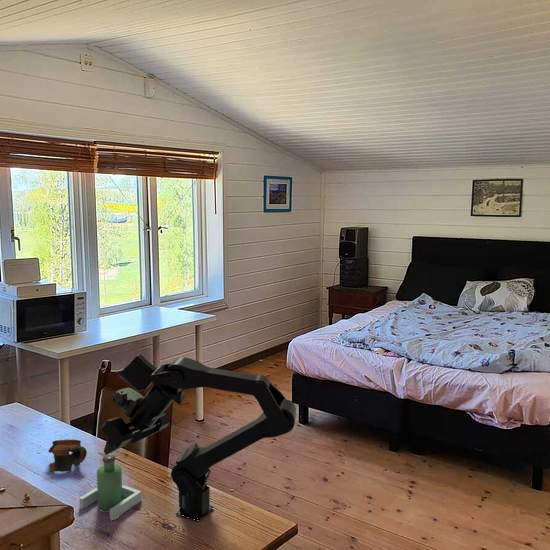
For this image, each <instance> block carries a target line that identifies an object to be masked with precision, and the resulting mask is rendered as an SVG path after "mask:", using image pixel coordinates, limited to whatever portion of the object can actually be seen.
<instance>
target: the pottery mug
mask: <svg viewBox="0 0 550 550" xmlns="http://www.w3.org/2000/svg"><path fill="white" fill-rule="evenodd" d="M81 443H82V441H81V440H79V439H58V440H53V441H52V445H51V446H50V448H49V449H48V453H50V454H52V455H53V459H54V461H53V462H49V471H50V473H51V472H60V473H61V472H63V473H65V472H67V473H68V472H72V468H73V466H75V467H79V466H80V465H81V463H83V462H84V460H86V457H87V455H88V452H87V449H86V447H84V446H82V445H81Z"/></svg>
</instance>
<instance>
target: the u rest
mask: <svg viewBox="0 0 550 550" xmlns="http://www.w3.org/2000/svg"><path fill="white" fill-rule="evenodd" d="M122 498H124V499H122V502H120V503H119V504H117V505H116V506H114V507H113V508H111V509H110V512H109V520H110V519H112V520H114V519H115V518H117V517H118V516H120V515H121V514H122V515H124V514H125V513H126V512H125V511H127V510H128V509H129V510H131V509H132V508H133V507H132V506H134V505H135V504H136V503H138V502H139V503H141V502H142V501H143V500H142V491H141V490H139V489H135V488H133V487H130V486H127V485H125V484H122ZM141 500H142V501H141ZM96 501H98V492H97V487H95V488H94V489H92V490H89V492H87V493H86V494H84V495H82V496H81V497H79V509H81V508H82V509H81V510H83V508H84V509H85V508H87V507H88V505H89V506H91V504H94V503H95V502H96ZM140 501H141V502H140ZM139 503H138V504H139ZM135 506H136V505H135ZM135 506H134V507H135ZM131 507H132V508H131ZM130 508H131V509H130ZM129 510H128V511H129ZM128 511H127V512H128ZM124 512H125V513H124ZM123 513H124V514H123ZM122 515H121V516H122ZM121 516H120V517H121ZM118 518H119V517H118ZM118 518H117V519H118ZM112 520H111V521H112ZM115 520H116V519H115ZM115 520H114V521H115Z"/></svg>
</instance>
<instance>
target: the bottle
mask: <svg viewBox="0 0 550 550" xmlns="http://www.w3.org/2000/svg"><path fill="white" fill-rule="evenodd" d="M115 461H116V455H115V454H107V455H106V454H105V455H104V456H102V462H103V465H102V466H100V467H99V468H97V469H96V482H97V483H96V488H97V492H98V500H97V509H98V508H99V509H100V510H102V511H110V509H111V508H113V507H114V506H116V505H117V504H119V503H120V502H122V501H123V497H122V485H123V473H122V472H123V471H122V469H123V467H121V465H119V464H116V463H115ZM99 509H98V510H99ZM100 510H99V511H100ZM102 511H101V512H102Z"/></svg>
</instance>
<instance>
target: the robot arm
mask: <svg viewBox="0 0 550 550" xmlns="http://www.w3.org/2000/svg"><path fill="white" fill-rule="evenodd" d="M118 376H119V378H121V379H122V380H123V381H124V382H125V383H127V384H128V385H129V386H130V387H125V388H121V389H118V390H117V391H115V393H114V394H113V395H112V396H111V403H112V404H113V405H115V406H116V407H118V408H121V409H123V410H125V412H124V415H125V416H126V417H127V418H129V422H128V423H126V422H125V421H124V420H123V418H122V417H121V416H119V417H118V416H115V417H112V418H110V419H106V421H104V423H103V424H102V425H101V430H102V431H103V432H104V433H105V435H106V437H107V439H106V442H105V444H104V445H105V446H104V448H103V449H104V450H103V453H104V454H105V456H106V455H110V454H112V453H113V452H116V451H117V450H119V449H121V448H123V447H124V446H127V445H128V443H131V444H136V443H137V442H139V441H141V440H143V439H146V438H149V436H152V435H154V434H156V433H158V432H161V431H162V430H163V429H166V428H167V427H168V426H169V424H170V423H171V419H170V416H169V415H168V414H167V412H166V410H167V408H169V406H170V405H171V404H172V402H175V403H176V404H178V405H181V404H182V403H183V402H184V400H185V399H186V398H187V397H186V393H185V390H193V389H194V390H195V389H198V388H207V389H212V390H218V391H223V392H224V391H225V392H229V393H235V394H236V393H237V394H242V395H249V396H253V397H254V398H255V399H256V401H257V403H258V405H259V407H260V408H261V410H262V413H261V414H260V415H259V416H258V417H257V418H256V419H254V420H253V421H251V422H249V423H247V424H245V425H244V426H241V427H239V428H238V429H236V430H235V431H233V432H231V433H228V434H227V435H225V436H224V437H222V438H219V439H218V440H216V441H215V442H213V443H211V444H209V445H207V446H204V447H199V445H198V443H197V442H195V443H194V444H192V445H191V446H190V447H187V448H183V449H182V451H181V452H180V454H179V456H178V457H177V459H176V461H175V463H174V465H173V467H172V469H171V471H170V478H171V480H172V482H173V483H174V484H175V485H176V487H177V490H178V507H179V508H178V509H177V510H176V511H175V514H176V513H177V514H180V515H184V516H186V517H189V518H192V519H195V520H199V519H200V518H202V517H203V516H204V515H205V514H206V513H208V512H209V511H210V510H211V509H212V508H213V509H214V505H212V504H210V503H211V502H210V501H211V500H210V497H211V496H210V494H211V492H210V490H211V489H210V488H211V487H210V486H208V484H207V482H208V480H209V478H210V475H211V472H212V471H211V469H210V468H211V467H213V466H215V465H216V464H218V463H220V462H222V461H224V460H226V459H228V458H230V457H231V456H233V455H235V454H237V453H238V452H240V451H242V450H245V449H246V448H248V447H249V446H251V445H253V444H255V443H257V442H258V441H261V440H263V439H271V438H272V439H273V438H277V437H280V436H283V435H287V434H289V433H291V431H292V430H293V429H294V427H295V423H296V419H297V418H296V417H297V407H296V405H295V403H294V402H293V401H292V400H289V399H287V397H285V396H284V394H283V393H282V392H281V391H280V390H279V389H278V388H277V387H276V386H275V385H274V384H273V383H272V382H271V380H270V379H269V378H268V377H267V376H265V375H262V374H257V375H256V374H251V373H245V372H239V371H232V370H227V369H220V368H216V367H215V368H213V367H209V366H206V365H205V364H203V363H201V362H199V361H198V360H195V359H193V358H189V357H186V356H179V357H177V358H175V359H174V360H173V361H172V362H169V363H165V364H159V366H158V367H156V366H155V365H153V364H152V363H151V362H150V361H149V360H148V359H146V358H145V356H144V355H142V353H138V354H137V355H136V356H135V357H134V358H133V359H132V360H131V361H130V362H129V364H128V365H126V366H125V367H124V368H123V369H122V371H121V372H120V373H119V375H118ZM151 384H152V386H151ZM150 386H151V387H150ZM131 387H132V388H131ZM149 387H150V389H149V390H148V391H147V393H146V394H145V395H143V394H141V392H142V391H144V392H145V391H146V390H147V389H148V388H149ZM213 509H212V510H213ZM212 510H211V511H212ZM211 511H210V512H211ZM210 512H209V513H210ZM209 513H208V514H209ZM177 514H176V515H177ZM180 515H179V516H180ZM205 516H206V515H205ZM205 516H204V517H205ZM186 517H185V518H186ZM204 517H203V518H204ZM189 518H188V519H189ZM197 518H198V519H197ZM203 518H202V519H203Z"/></svg>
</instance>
